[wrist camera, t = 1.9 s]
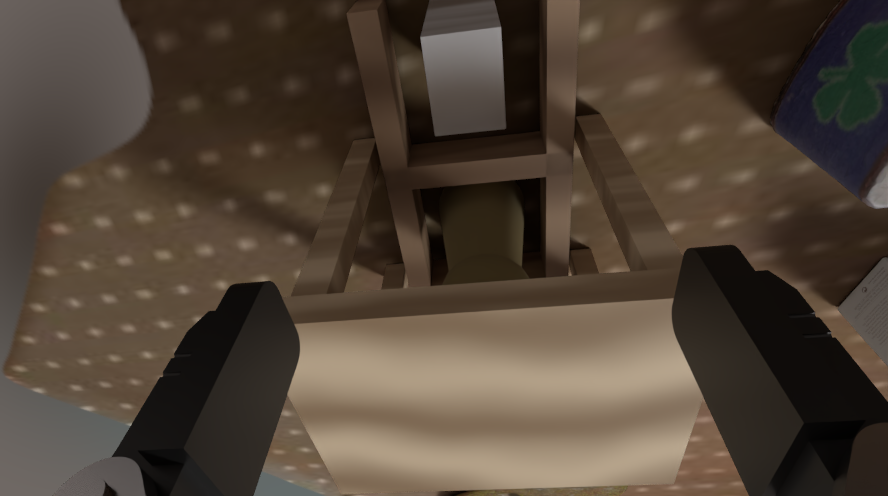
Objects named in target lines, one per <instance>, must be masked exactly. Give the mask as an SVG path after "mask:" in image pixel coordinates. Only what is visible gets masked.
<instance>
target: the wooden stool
mask: <svg viewBox="0 0 888 496" xmlns="http://www.w3.org/2000/svg"><path fill="white" fill-rule="evenodd" d="M575 141H576V143H577V145H578V148H579V150H580V152H581V155H582V157H583V160H584V162H585V164H586V167H587V169H588V171H589V174H590V176H591V178H592V181H593V183H594V186H595V188H596V190H597V193H598V195H599V197H600V200H601V202H602V204H603V207H604V209H605V212H606V214H607V216H608V219H609V221H610V223H611V226H612V228H613V230H614V233H615V235H616V237H617V240H618V242H619V245H620V247H621V249H622V252H623V254H624V256H625V259H626V261H627V263H628V266H629V268H630V272H616V273H603V274H599V272H598V269H597V266H596V263H595V260H594V257H593V254H592V251H591V249H579V250H570V261H569V266H570V270H571V274H572V276H562V277H548V278H535V279H521V280H508V281H494V282H480V283H467V284H453V285H440V286H426V287H413V288H407V285H408V279H407V275H406V270H405V266H404V263H402V264H389V265H386V268H385V273H384V278H383V284H382V289H381V290H372V291H358V292H345V293H344V290H345V286H346V283H347V279H348V275H349V272H350V268H351V265H352V261H353V258H354V254H355V251H356V247H357V243H358V240H359V236H360V233H361V229H362V226H363V222H364V219H365V215H366V211H367V208H368V204H369V201H370V197H371V194H372V190H373V186H374V183H375V179H376V176H377V172H378V169H379V165H380V157H379V153H378V149H377V144H376V140H375V138H369V139H359V140H353V143H352V145H351V148H350V150H349V153H348V155H347V158H346V160H345V163H344V165H343V168H342V170H341V173H340V175H339V178H338V180H337V183H336V185H335V188H334V190H333V193H332V195H331V197H330V200H329V202H328V205H327V207H326V210H325V212H324V215H323V217H322V220H321V222H320V225H319V227H318V230H317V232H316V235H315V237H314V240H313V242H312V245H311V247H310V250H309V252H308V255H307V257H306V259H305V262H304V264H303V267H302V269H301V272H300V274H299V277H298V279H297V282H296V284H295V287H294V289H293V292H292V294H291V297H282V299H283V301H284V303H285V305H286V307H287V310H288V312H289V314H290V316H291V318H292V321H293V323H294V325H295V327H296V329H297V332H298V335H299V340H300V356H299V360H298V364H297V367H296V370H295V373H294V376H293V379H292V382H291V385H290V388H289V391H288V394H287V395H288V396H289V398H290V400H291V402H292V404H293V406H294V408H295V409H296V411H297V413H298V415H299V417H300V419H301V421H302V422H303V424H304V426H305V428H306V430H307V432H308V433H309V435H310V437H311V439H312V441H313V443H314V445H315V446H316V448H317V450H318V452H319V454H320V456H321V458H322V459H323V461H324V463H325V465H326V467H327V469H328V470H329V472H330V474H331V476H332V478H333V480H334V482H335V483H336V485H337V487H338V489H339V491H340V493H341V494H362V493H394V492H427V491H460V490H493V489H525V488H558V487H591V486H624V485H656V484H674V481H675V478H676V476H677V473H678V470H679V467H680V464H681V461H682V458H683V455H684V452H685V449H686V446H687V443H688V440H689V437H690V434H691V432H692V429H693V426H694V423H695V420H696V417H697V414H698V411H699V408H700V405H701V402H702V399H703V395H702V393H701V391H700V389H699V386H698V384H697V382H696V380H695V378H694V376H693V374H692V371H691V369H690V367H689V365H688V363H687V361H686V358H685V356H684V354H683V352H682V350H681V348H680V346H679V343H678V341H677V339H676V336H675V333H674V330H673V325H672V304H673V300H674V295H675V291H676V286H677V282H678V277H679V273H680V268H681V264H682V259H683V256H682V254H681V252H680V251H679V249H678V247H677V245H676V244H675V242H674V240H673V238H672V237H671V235H670V233H669V231H668V230H667V228H666V226H665V224H664V223H663V221H662V219H661V218H660V216H659V214H658V212H657V211H656V209H655V207H654V205H653V204H652V202H651V200H650V198H649V197H648V195H647V193H646V191H645V190H644V188H643V186H642V184H641V183H640V181H639V179H638V178H637V176H636V174H635V172H634V171H633V169H632V167H631V165H630V164H629V162H628V160H627V158H626V157H625V155H624V153H623V151H622V150H621V148H620V146H619V144H618V143H617V141H616V139H615V138H614V136H613V134H612V132H611V131H610V129H609V127H608V125H607V124H606V122H605V120H604V118H603V117H602V115H601V114H595V115H585V116H576V124H575Z"/></svg>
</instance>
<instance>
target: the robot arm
mask: <svg viewBox="0 0 888 496" xmlns="http://www.w3.org/2000/svg"><path fill="white" fill-rule="evenodd" d="M672 325H673V330H674V333H675V336H676V339H677V341H678V343H679V346H680V348H681V350H682V352H683V354H684V356H685V358H686V361H687V363H688V365H689V367H690V369H691V371H692V374H693V376H694V378H695V380H696V382H697V384H698V386H699V389H700V391H701V393H702V395H703V397H704V399H705V402H706V404H707V406H708V408H709V410H710V412H711V414H712V417H713V419H714V421H715V423H716V425H717V427H718V430H719V432H720V434H721V436H722V438H723V440H724V442H725V445H726V447H727V449H728V451H729V453H730V455H731V458H732V460H733V462H734V464H735V466H736V468H737V470H738V473H739V475H740V477H741V479H742V481H743V483H744V486H745V488H746V490H747V492H748V494H749V496H888V402H887V400H886V399H885V398H884V397H883V395H882V394H881V393H880V392H879V391H878V389H877V388H876V387H875V386H874V384H873V383H872V382H871V381H870V379H869V378H868V377H867V376H866V374H865V373H864V372H863V371H862V370H861V368H860V367H859V366H858V365H857V363H856V362H855V361H854V360H853V358H852V357H851V356H850V355H849V353H848V352H847V351H846V350H845V349H844V347H843V346H842V345H841V344H840V342H839V341H838V340H837V339H836V338H832V336H831V331H830V330H829V329H828V328H827V326H826V325H825V324H824V323H823V321H822V320H821V319H820V318H819V317H817V318H816V316H815V312H814V310H813V309H812V308H811V307H810V305H809V304H808V303H807V302H806V300H805V299H804V298H803V297H802V295H801V294H800V293H799V292H798V291H797V289H795V288H794V287H792V286H791V285H789V284H788V283H786V282H785V281H783V280H782V279H780V278H779V277H777V276H776V275H774V274H773V273H771V272H770V271H768V270H765V271H755V270H754V269H753V267H752V266H751V265H750V263H749V262H748V261H747V259H746V258H745V257H744V255H743V254H742V253H741V251H740V250H739V249H738V248H737V247H736V246H734V245H722V246H710V247H697V248H689V249H687V250H686V251H685V253H684V256H683V259H682V264H681V268H680V273H679V277H678V282H677V286H676V291H675V295H674V300H673V304H672ZM174 355H175V357H174V358H171V360H170V361H169V363H168V365H167V366H166V368H165V370H164V371H163V377H160V378H159V380H158V381H157V383H156V385H155V386H154V388H153V390H152V391H151V393H150V395H149V396H148V398H147V400H146V401H145V403H144V405H143V406H142V408H141V410H140V411H139V413H138V415H137V416H136V418H135V420H134V421H133V423H132V425H131V426H130V428H129V430H128V432H127V433H126V435H125V437H124V438H123V440H122V442H121V443H120V445H119V447H118V448H117V450H116V451H115V453H114V454H113V456H112V457H111V458H106V459H103V460H100V461H97V462H95V463H93V464H91V465H89V466H87V467H85V468H84V469H82V470H80V471H79V472H77V473H76V474H75V475H74V476H72V477H71V478H69V479H68V480H67V481H66V482H65V483H64V484H63V485H62V486H61V487H60V488H59V489H58V490H57V491H56V492H55V493H54V495H53V496H253V495H254V492H255V489H256V486H257V483H258V480H259V477H260V474H261V471H262V468H263V465H264V462H265V459H266V456H267V453H268V451H269V448H270V445H271V442H272V439H273V436H274V433H275V430H276V427H277V424H278V421H279V418H280V415H281V412H282V409H283V406H284V403H285V400H286V397H287V394H288V391H289V388H290V385H291V382H292V379H293V376H294V373H295V370H296V367H297V364H298V360H299V356H300V340H299V335H298V332H297V329H296V327H295V325H294V323H293V321H292V318H291V316H290V314H289V312H288V310H287V307H286V305H285V303H284V301H283V299H282V297H281V294H280V292H279V290H278V288H277V286H276V285H275V284H274V283H273V282H271V281H264V282H252V283H240V284H233V285H231V286H230V287H229V288H228V290H227V291H226V293H225V295H224V297H223V299H222V300H221V302H220V304H219V306H218V307H217V309H216V311H209V312H208V313H206V314H205V315H204V316H203V317H202V318H201V319H200V320H199V321H198V322H197V323H196V324H195V325H194V326H193V327H192V328H191V329H189V330H188V331H187V333H186V335H185V336H184V338H183V340H182V341H181V343H180V345H179V346H178V348H177V350H176V351H175V353H174Z"/></svg>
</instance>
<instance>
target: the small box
mask: <svg viewBox="0 0 888 496" xmlns="http://www.w3.org/2000/svg"><path fill="white" fill-rule="evenodd" d="M838 311H839V312H840V313H841V314H842V315H843V317H844V318H845V319H846V320H847V321H848V322H849V323H850V324H851V326H852V327H853V328H854V329H855V330H856V331H857V332H858V333H859V334H860V336H861V337H862V338H863V339H864V340H865V341H866V343H867V344H868V345H869V346H870V347H871V348H872V349H873V350H874V351H875V352H876V354H877V355H878V356H879V357H880V358H881V359H882V360H883V361H884V363H885V364H886V365H887V366H888V258H886V257H884V258H882V259H881V260H880V261H879V263H878V264H877V265H876V266H875V267H874V268H873V269H872V270H871V272H870V273H869V274H868V275H867V276H866V277H865V278H864V279H863V280H862V282H861V283H860V284H859V285H858V286H857V287H856V288H855V289H854V290H853V291H852V293H851V294H850V295H849V296H848V297H847V298H846V299H845V300H844V302H843V303H842V304H841V305H840V306H839V307H838Z"/></svg>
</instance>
